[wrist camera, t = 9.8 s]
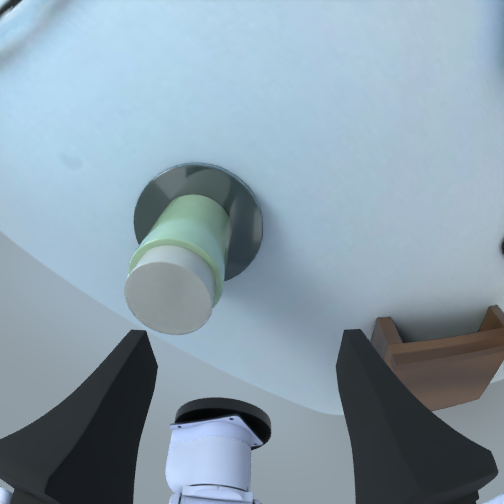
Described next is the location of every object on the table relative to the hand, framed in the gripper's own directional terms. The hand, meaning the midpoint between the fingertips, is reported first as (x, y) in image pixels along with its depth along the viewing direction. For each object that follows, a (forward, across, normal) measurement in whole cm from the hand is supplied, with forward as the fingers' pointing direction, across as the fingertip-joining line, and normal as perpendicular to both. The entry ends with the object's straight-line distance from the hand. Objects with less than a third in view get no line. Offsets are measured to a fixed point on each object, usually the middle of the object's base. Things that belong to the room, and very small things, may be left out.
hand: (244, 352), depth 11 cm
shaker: (+9, +3, 0) cm, 10 cm away
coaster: (+10, +3, 0) cm, 10 cm away
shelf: (+10, -16, +12) cm, 22 cm away
